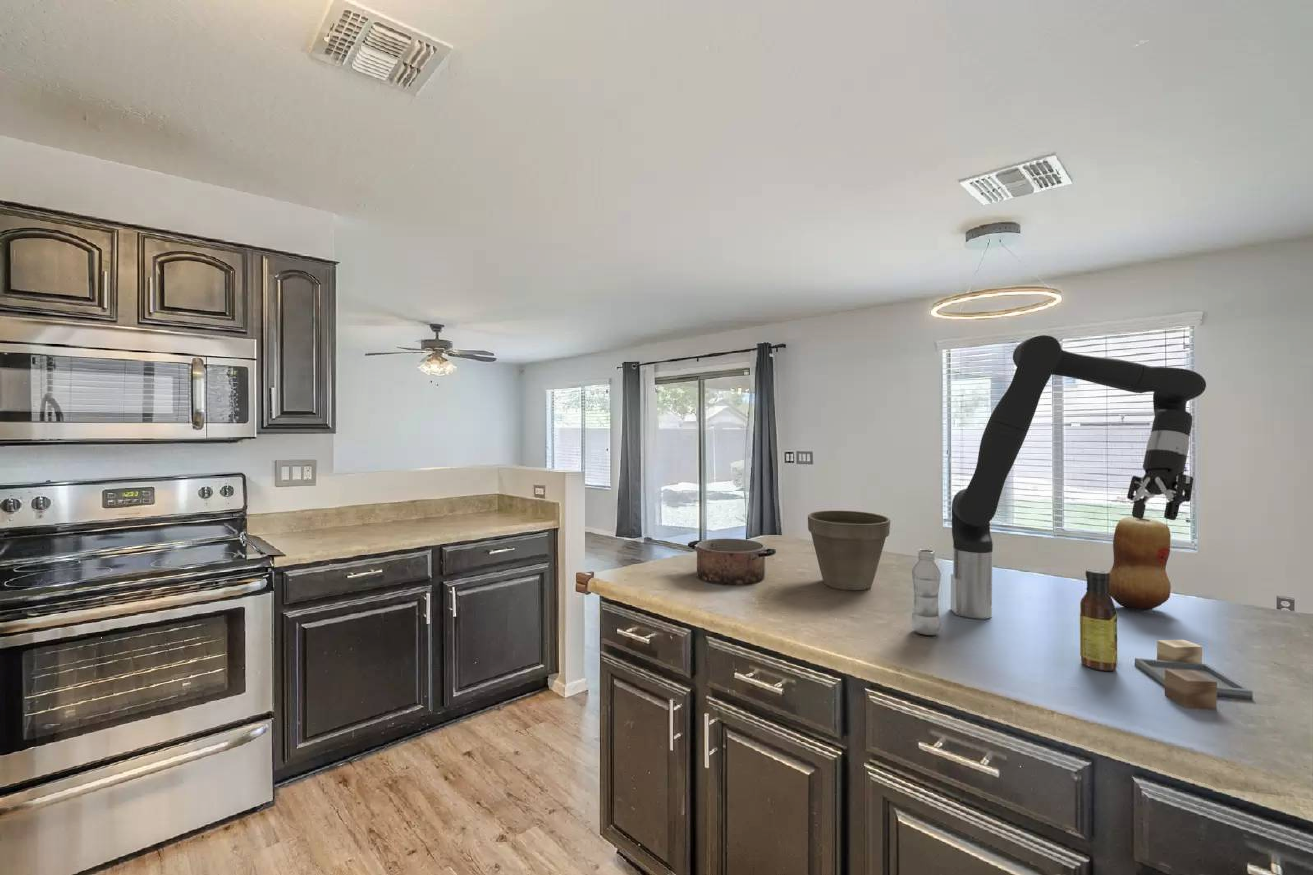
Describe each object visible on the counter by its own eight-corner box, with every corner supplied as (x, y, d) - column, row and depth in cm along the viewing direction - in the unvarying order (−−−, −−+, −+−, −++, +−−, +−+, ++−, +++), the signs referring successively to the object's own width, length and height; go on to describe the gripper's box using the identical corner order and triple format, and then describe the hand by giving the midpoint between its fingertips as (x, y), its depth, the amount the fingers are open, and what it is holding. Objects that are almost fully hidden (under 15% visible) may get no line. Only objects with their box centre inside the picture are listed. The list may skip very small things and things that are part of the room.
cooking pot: (674, 578, 193) (674, 546, 193) (704, 564, 212) (704, 535, 212) (761, 591, 178) (761, 556, 178) (785, 575, 197) (785, 543, 197)
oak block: (1174, 668, 122) (1174, 647, 122) (1156, 661, 126) (1157, 640, 126) (1201, 668, 122) (1202, 646, 122) (1183, 660, 126) (1183, 639, 126)
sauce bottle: (1123, 673, 119) (1125, 576, 118) (1089, 671, 120) (1090, 574, 120) (1106, 661, 125) (1107, 568, 125) (1073, 658, 127) (1074, 567, 126)
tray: (1171, 691, 111) (1171, 684, 111) (1134, 665, 123) (1134, 658, 123) (1252, 699, 108) (1252, 691, 108) (1206, 671, 120) (1206, 664, 120)
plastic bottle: (938, 630, 144) (939, 549, 144) (942, 640, 138) (943, 555, 137) (909, 627, 146) (910, 547, 146) (912, 636, 140) (913, 553, 139)
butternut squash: (1151, 620, 151) (1153, 523, 151) (1095, 605, 164) (1096, 516, 163) (1181, 613, 157) (1183, 520, 156) (1125, 599, 169) (1126, 513, 169)
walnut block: (1185, 708, 105) (1186, 680, 105) (1164, 695, 110) (1165, 669, 110) (1216, 709, 104) (1217, 681, 104) (1193, 696, 109) (1194, 670, 109)
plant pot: (890, 599, 169) (891, 524, 169) (802, 591, 178) (803, 519, 177) (889, 578, 192) (889, 512, 192) (811, 571, 201) (812, 508, 201)
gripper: (1126, 450, 147) (1113, 513, 145) (1179, 445, 133) (1165, 514, 131) (1154, 459, 147) (1141, 522, 145) (1210, 455, 133) (1197, 524, 131)
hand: (1153, 518), depth 138 cm, fingers open, 8 cm apart
